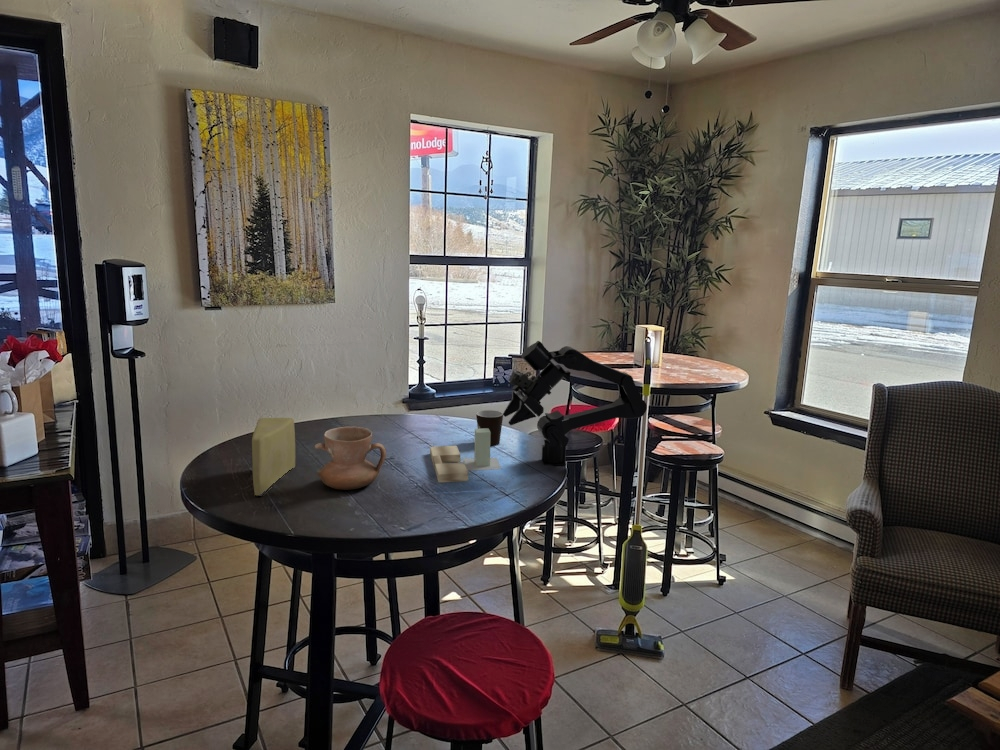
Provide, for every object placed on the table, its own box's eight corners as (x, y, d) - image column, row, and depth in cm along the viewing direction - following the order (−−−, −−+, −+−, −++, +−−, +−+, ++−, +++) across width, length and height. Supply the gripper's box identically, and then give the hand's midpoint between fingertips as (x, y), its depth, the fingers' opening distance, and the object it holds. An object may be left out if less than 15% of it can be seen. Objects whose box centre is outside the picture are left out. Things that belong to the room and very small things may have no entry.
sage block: (487, 461, 188) (488, 428, 186) (489, 465, 184) (490, 432, 182) (474, 461, 187) (474, 428, 185) (476, 466, 183) (476, 432, 181)
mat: (496, 458, 191) (496, 457, 191) (502, 470, 182) (502, 469, 182) (463, 459, 190) (463, 458, 190) (466, 471, 180) (466, 470, 180)
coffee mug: (500, 448, 200) (501, 417, 198) (473, 447, 202) (473, 416, 200) (506, 438, 212) (506, 408, 210) (480, 436, 213) (480, 407, 211)
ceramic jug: (311, 495, 161) (310, 441, 158) (319, 474, 175) (318, 424, 172) (384, 494, 163) (384, 441, 160) (386, 474, 177) (387, 424, 174)
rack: (456, 453, 195) (456, 445, 195) (468, 481, 172) (468, 472, 172) (430, 454, 194) (430, 446, 193) (438, 483, 171) (438, 474, 170)
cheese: (278, 497, 159) (275, 439, 156) (237, 498, 158) (233, 440, 155) (297, 467, 181) (294, 415, 178) (261, 467, 180) (258, 416, 177)
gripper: (520, 356, 191) (482, 393, 191) (533, 368, 173) (492, 409, 173) (545, 381, 194) (508, 418, 194) (560, 396, 175) (520, 436, 176)
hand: (506, 419), depth 184 cm, fingers open, 9 cm apart
